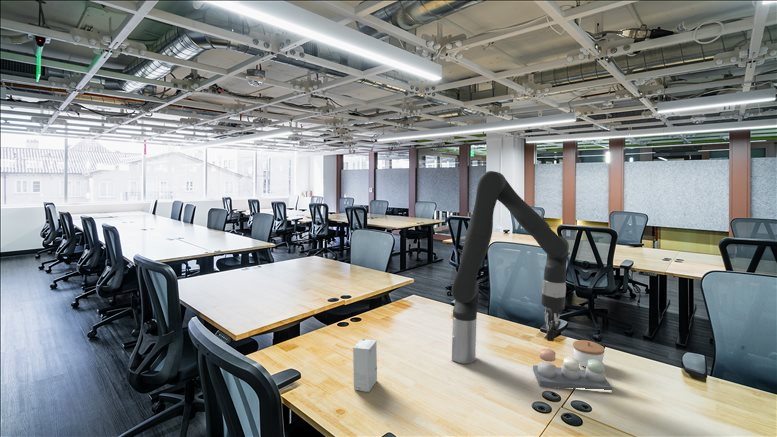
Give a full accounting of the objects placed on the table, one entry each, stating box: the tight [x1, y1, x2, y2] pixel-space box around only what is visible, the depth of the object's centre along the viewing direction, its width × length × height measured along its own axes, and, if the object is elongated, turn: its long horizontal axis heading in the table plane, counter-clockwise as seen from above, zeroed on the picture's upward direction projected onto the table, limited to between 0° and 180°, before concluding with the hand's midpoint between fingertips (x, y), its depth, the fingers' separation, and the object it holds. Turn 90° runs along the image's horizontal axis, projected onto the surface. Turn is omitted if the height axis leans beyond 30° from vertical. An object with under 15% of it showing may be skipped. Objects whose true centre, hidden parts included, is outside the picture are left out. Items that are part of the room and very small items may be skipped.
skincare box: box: [352, 338, 378, 393], centre depth 126 cm, size 8×6×15 cm
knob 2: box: [587, 359, 605, 373], centre depth 128 cm, size 5×5×2 cm
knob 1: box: [539, 348, 556, 363], centre depth 130 cm, size 5×5×2 cm
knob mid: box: [562, 356, 580, 371], centre depth 129 cm, size 5×5×2 cm
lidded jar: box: [572, 339, 605, 368], centre depth 141 cm, size 11×11×9 cm
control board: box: [532, 361, 613, 391], centre depth 129 cm, size 23×11×5 cm, turn 80°
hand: (550, 340), depth 130 cm, fingers closed
